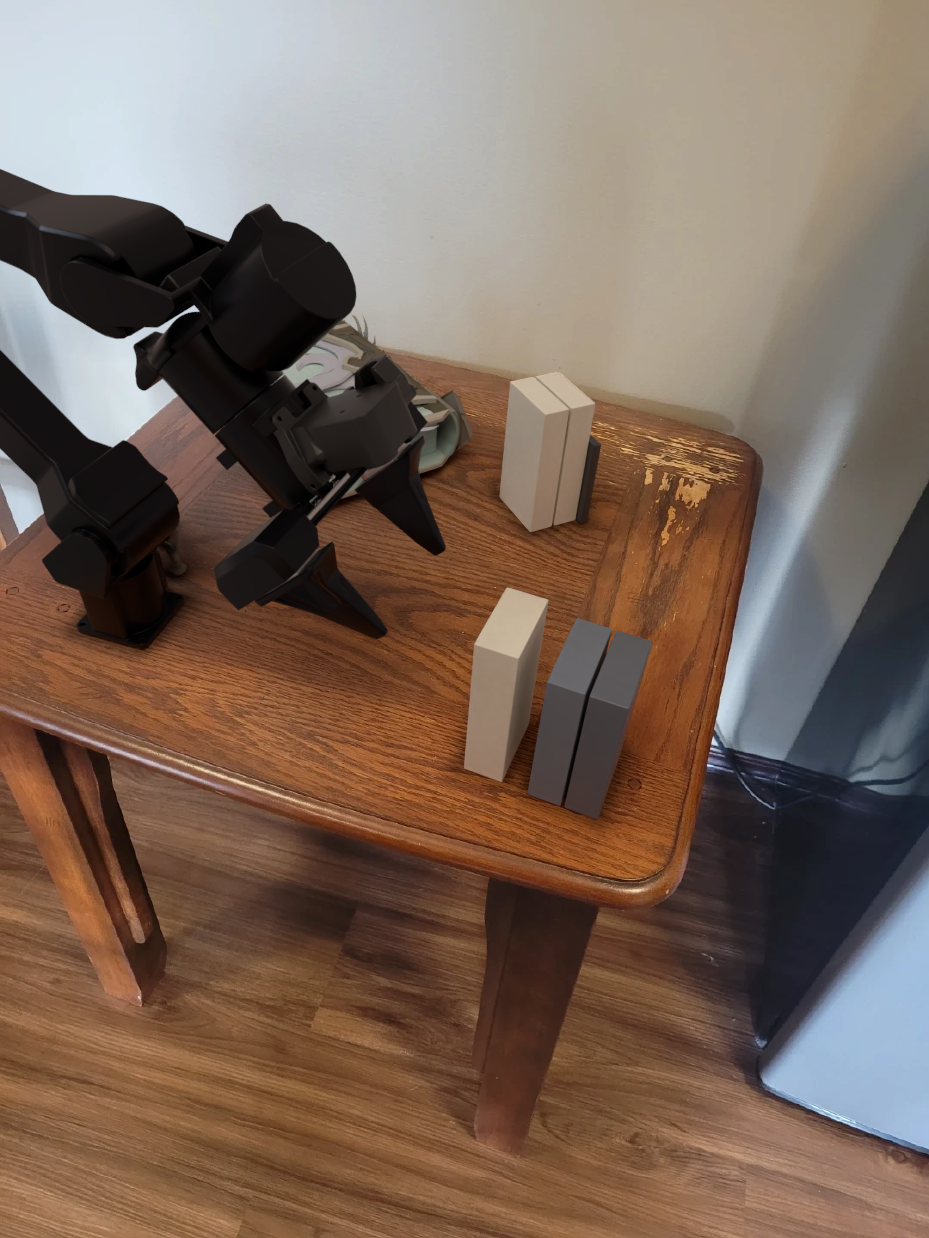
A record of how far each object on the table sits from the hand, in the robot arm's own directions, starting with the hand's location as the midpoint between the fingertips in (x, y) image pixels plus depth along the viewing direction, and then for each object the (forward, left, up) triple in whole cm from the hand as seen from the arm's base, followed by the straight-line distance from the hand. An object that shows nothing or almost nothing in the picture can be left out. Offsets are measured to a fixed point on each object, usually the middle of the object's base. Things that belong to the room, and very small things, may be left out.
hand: (413, 591), depth 57 cm
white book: (-1, -7, -13) cm, 15 cm away
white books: (+30, -3, -13) cm, 33 cm away
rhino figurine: (+11, +31, -13) cm, 35 cm away
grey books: (-1, -13, -13) cm, 18 cm away
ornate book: (+34, +23, -13) cm, 43 cm away
